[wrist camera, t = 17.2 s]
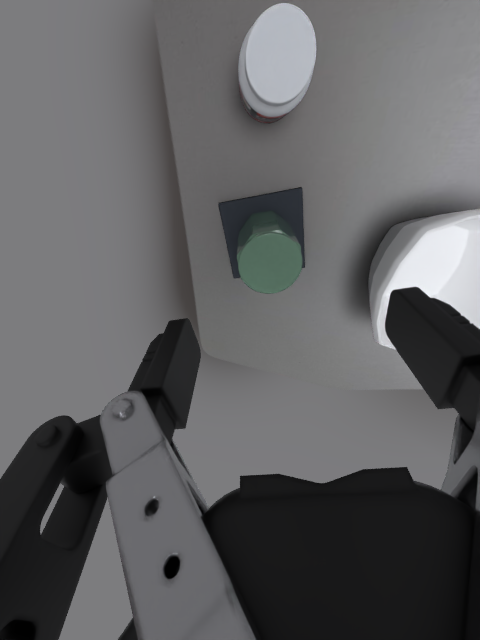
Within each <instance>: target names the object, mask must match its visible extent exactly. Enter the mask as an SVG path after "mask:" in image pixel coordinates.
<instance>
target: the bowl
mask: <svg viewBox="0 0 480 640" xmlns="http://www.w3.org/2000/svg"><path fill="white" fill-rule="evenodd" d="M368 286H369V299H370V311H371V322H372V329H373V337H374V340H375V341H376V342H377V343H378V344H380V345H383V346H386V347H389V348H392V349H395V350H396V348H395V347H394V346H393V344H392V343H391V341H390V340H389V338H388V337H387V334H386V331H385V320H386V314H387V309H388V304H389V298H390V294H391V292H392V291H393V290H395V289H402V288H409V287H418V288H420V289H421V290H422V291H423V292H424V293H425V294H427V295H428V296H429V297H430V298H436V299H438V300H441V301H443V302H445V303H447V304H450V305H451V306H452V307H453V308H454V309H456V310H457V311H458V312H459V313H461V316H464V317H465V318H467V319H468V320H469V321H470V324H471V323H473V324H474V325H475V326H476V327H477V328H479V329H480V209H474V210H467V211H460V212H454V213H447V214H441V215H435V216H431V217H424V218H418V219H413V220H409V221H406V222H402V223H399V224H396V225H394V226H392V227H391V228H390V229H389V231H388V233H387V234H386V236H385V237H384V239H383V240H382V242H381V243H380V245H379V247H378V250H377V252H376V254H375V256H374V258H373V260H372V262H371V267H370V273H369V279H368Z"/></svg>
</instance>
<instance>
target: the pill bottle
mask: <svg viewBox="0 0 480 640" xmlns="http://www.w3.org/2000/svg"><path fill="white" fill-rule="evenodd" d="M315 60H316V37H315V33H314V29H313V26H312V24H311V22H310V20H309V18H308V17H307V15H306V14H305V13H304V12H303V11H302V10H301V9H300V8H298V7H297V6H295V5H292V4H288V3H280V4H275V5H273V6H271V7H269V8H268V9H266V10H265V11H264V12H263V13H262V14H261V15H260V16H259V17H258V19H257V20H256V22H255V23H254V24H253V26H252V27H251V28H250V29H249V31H248V33H247V35H246V36H245V38H244V41H243V44H242V46H241V50H240V55H239V62H238V78H239V91H240V97H241V100H242V103H243V106H244V108H245V110H246V111H247V112H248V114H249V115H250V116H251V117H252V118H254V119H255V120H257V121H259V122H263V123H272V122H275V121H277V120H279V119H281V118H283V117H284V116H285V115H286V114H288V113H289V112H290V111H291V110H293V109H294V108H295V107H296V106H297V105H298V104H299V102H300V101H301V100H302V98H303V97H304V95H305V93H306V91H307V89H308V87H309V84H310V81H311V78H312V74H313V69H314V65H315Z"/></svg>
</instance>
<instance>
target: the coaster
mask: <svg viewBox="0 0 480 640" xmlns="http://www.w3.org/2000/svg"><path fill="white" fill-rule="evenodd" d="M218 205H219V210H220V214H221V219H222V224H223V229H224V233H225V238H226V243H227V248H228V252H229V257H230V262H231V267H232V271H233V276H234V278H240V273H239V269H238V261H237V249H238V238H239V231H240V230H241V228H242V227H243V226H244V224H245V223H246V221H247V220H248V218H249V217H250V215H251V214H256V213H261V212H267V211H274V212H275V213H277V214H278V215H279V216H280V217H282V218H283V219H284V220H285V221H287V222H288V223H289V225H290V227H291V228H292V230H293V232H294V234H295V236H296V238H297V240H298V242H299V244H300V246H301V255H302V268H305V259H304V229H303V198H302V188H301V187H300V188H295V189H290V190H284V191H279V192H274V193H269V194H263V195H258V196H253V197H248V198H243V199H237V200H232V201H227V202H222V203H219V204H218Z"/></svg>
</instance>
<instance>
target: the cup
mask: <svg viewBox="0 0 480 640" xmlns="http://www.w3.org/2000/svg"><path fill="white" fill-rule="evenodd" d="M237 261H238V269H239V273H240V277H241V279H242V280H243V281H244V283H245V284H246V285H247V286H248V287H250V288H251V289H253V290H255V291H257V292H260V293H266V294H271V293H277V292H280V291H283V290H285V289H286V288H288V287H289V286H291V285H292V284H293V283H294V282H295V281H296V279H297V278H298V276H299V274H300V272H301V270H302V255H301V246H300V244H299V242H298V240H297V238H296V236H295V234H294V232H293V230H292V228H291V227H290V225H289V223H288V222H287V221H285V220H284V219H283V218H282V217H280V216H279V215H278V214H277V213H275V212H274V211H267V212H261V213H256V214H251V215H250V217H249V218H248V220H247V221H246V223H245V224H244V226H243V227H242V228H241V230H240V231H239V238H238V249H237Z"/></svg>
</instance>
